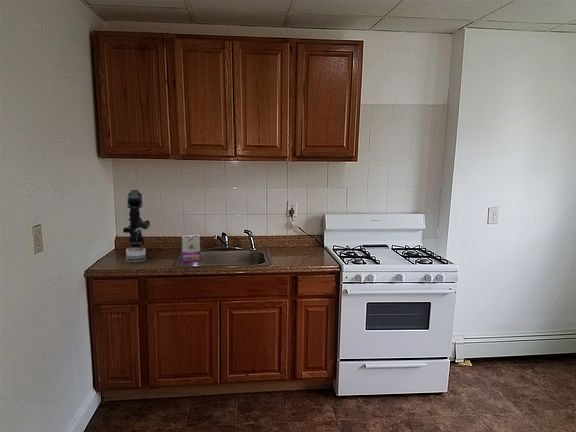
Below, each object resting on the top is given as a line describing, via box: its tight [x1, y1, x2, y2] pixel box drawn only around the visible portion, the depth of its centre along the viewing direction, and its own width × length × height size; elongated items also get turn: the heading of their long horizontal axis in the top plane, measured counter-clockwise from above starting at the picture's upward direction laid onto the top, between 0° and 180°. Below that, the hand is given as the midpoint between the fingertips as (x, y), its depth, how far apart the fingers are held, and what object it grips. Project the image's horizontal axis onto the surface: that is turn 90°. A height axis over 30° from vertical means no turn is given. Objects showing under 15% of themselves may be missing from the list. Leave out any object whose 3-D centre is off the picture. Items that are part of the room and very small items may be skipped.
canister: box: [125, 246, 147, 264], centre depth 232 cm, size 12×12×7 cm
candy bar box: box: [181, 234, 202, 264], centre depth 232 cm, size 11×5×16 cm, turn 106°
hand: (135, 241), depth 231 cm, fingers closed
